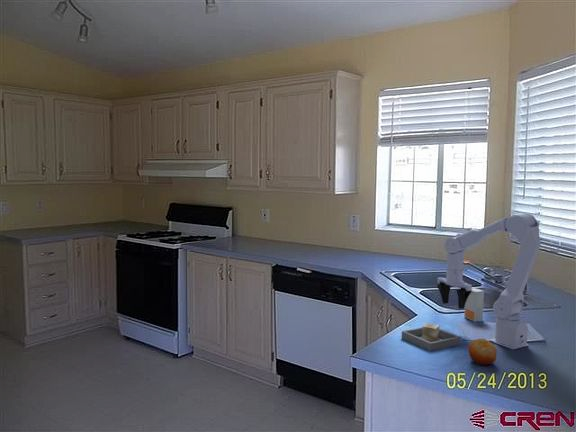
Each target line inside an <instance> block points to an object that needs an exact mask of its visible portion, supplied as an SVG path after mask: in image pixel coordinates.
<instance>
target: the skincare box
mask: <svg viewBox="0 0 576 432" xmlns="http://www.w3.org/2000/svg"><path fill="white" fill-rule="evenodd" d="M484 299H485V291H484V290H482V289H480V288H476V287H472V292H471V293H470V295H469V296H468V298H467V301H466V303H465V306H464V313H463V314H464V315H463V316H464V318H465V319H468V320H469V321H472V322H475V323H476V322H477V323H478V322H483V319H484V304H485V303H484V301H485V300H484Z"/></svg>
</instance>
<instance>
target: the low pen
mask: <svg viewBox="0 0 576 432" xmlns="http://www.w3.org/2000/svg"><path fill="white" fill-rule="evenodd" d="M422 329H423V326H422V327H417V328H412V329H406V330H401V339H402V340H404V341H407V342H409V343H411V344H413V345H416V346H418V347H421V348H422V349H425V350H427V351H429V352H432V351H438V350H441V349H446V348H450V347H454V346H458V345H461V339H462V337H461V336H460V335H459V336H458V335H457V334H453V333H450V332H449V331H446V330H443V329H441V328H439V338H441V339H440V341H435V342H429V341H426V340H424V339H422V337H419V336H422Z"/></svg>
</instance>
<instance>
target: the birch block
mask: <svg viewBox="0 0 576 432" xmlns="http://www.w3.org/2000/svg"><path fill="white" fill-rule="evenodd" d="M422 327H423V329H422V335H421V336H422V337H421V338H422V339H424V340H426V341H429V342H435V341H438V340H439V339H440V337H439V329H440V324H434V323H428V322H426V323H424V324H423V325H422Z"/></svg>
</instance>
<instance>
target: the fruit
mask: <svg viewBox="0 0 576 432" xmlns="http://www.w3.org/2000/svg"><path fill="white" fill-rule="evenodd" d="M467 348H468V354H469V355H468V356H469V357H470V359H471V360H472V362H474V363H475V364H476V365H478V366H486V365H493V363H495V362H496V361H497V355H498V349H497V348H496V347H495V345H494V343H493V342H491V341H489V340H487V339H486V338H478V339H477V338H476V339H473V340H471V342H470V343H469V344H468V347H467Z"/></svg>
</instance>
